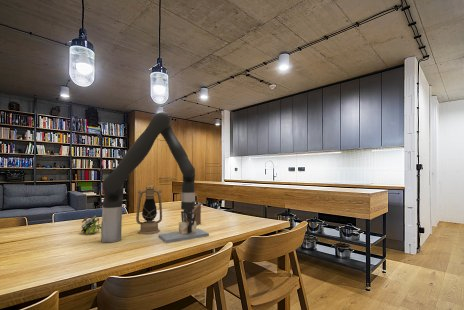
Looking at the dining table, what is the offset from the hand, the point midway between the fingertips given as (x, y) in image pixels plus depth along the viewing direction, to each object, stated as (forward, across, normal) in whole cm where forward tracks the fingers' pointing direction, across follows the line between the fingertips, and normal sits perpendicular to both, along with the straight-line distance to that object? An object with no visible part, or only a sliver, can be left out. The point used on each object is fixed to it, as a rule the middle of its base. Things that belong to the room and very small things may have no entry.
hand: (187, 231), depth 135 cm
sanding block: (+1, 0, 0) cm, 1 cm away
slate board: (+2, 0, -2) cm, 3 cm away
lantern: (+3, -21, -15) cm, 26 cm away
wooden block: (+3, -24, +14) cm, 28 cm away
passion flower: (+3, -37, -43) cm, 57 cm away
